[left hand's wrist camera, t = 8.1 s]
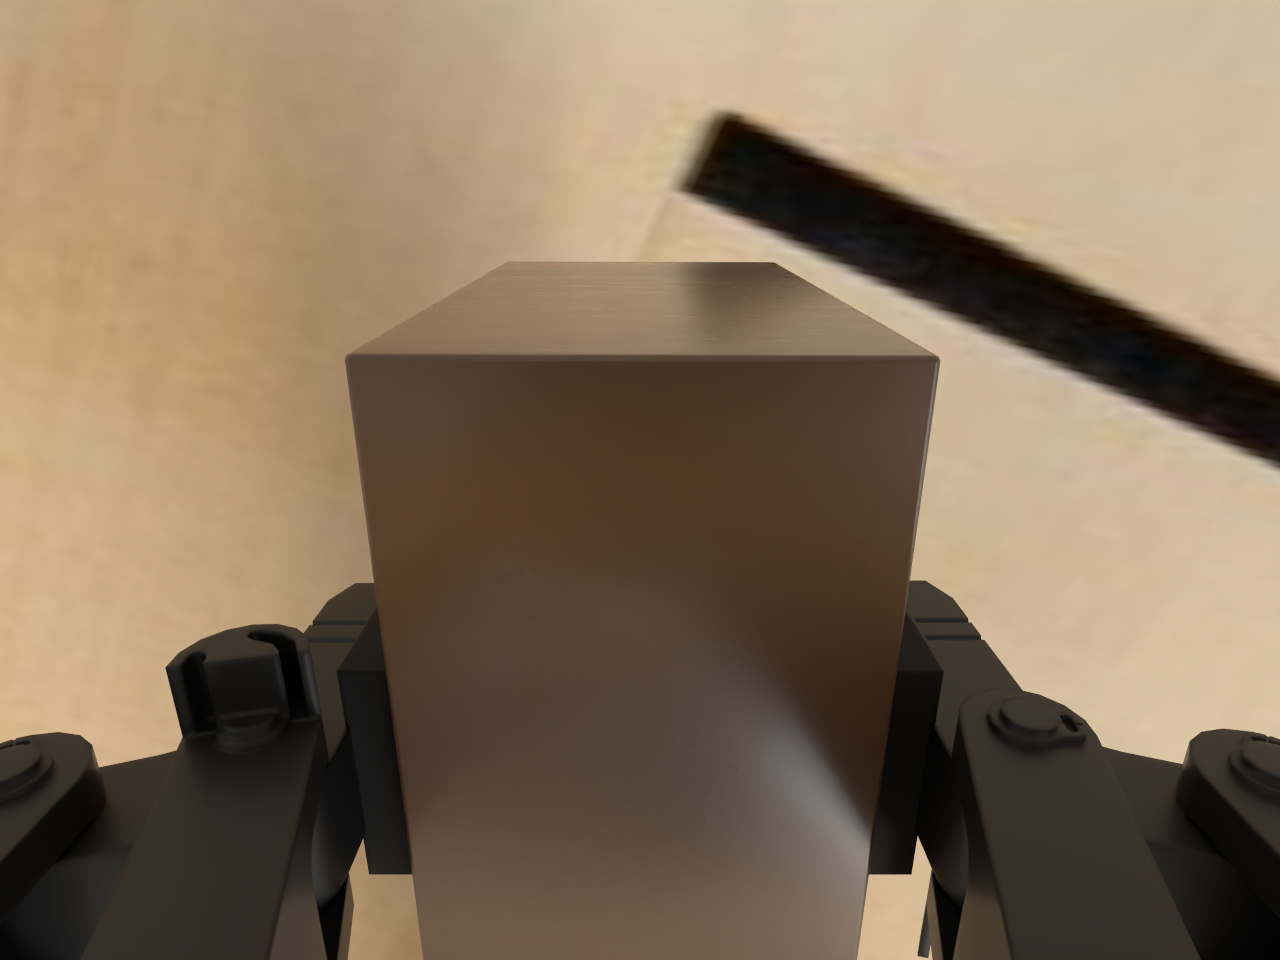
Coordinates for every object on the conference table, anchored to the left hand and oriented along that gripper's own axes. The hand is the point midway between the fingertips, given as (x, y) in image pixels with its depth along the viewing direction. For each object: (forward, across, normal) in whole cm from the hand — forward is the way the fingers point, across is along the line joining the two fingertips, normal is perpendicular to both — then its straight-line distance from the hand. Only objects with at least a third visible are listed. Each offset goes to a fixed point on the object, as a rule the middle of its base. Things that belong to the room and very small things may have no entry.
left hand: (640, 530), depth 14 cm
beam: (+1, 0, -32) cm, 32 cm away
